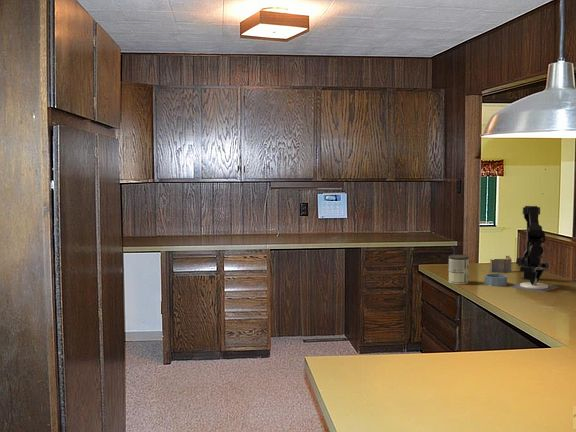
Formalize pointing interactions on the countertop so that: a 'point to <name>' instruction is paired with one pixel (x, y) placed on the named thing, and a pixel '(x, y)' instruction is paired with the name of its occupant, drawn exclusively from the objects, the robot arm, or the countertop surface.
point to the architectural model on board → (501, 265)
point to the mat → (533, 289)
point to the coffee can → (458, 269)
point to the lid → (534, 285)
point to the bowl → (495, 279)
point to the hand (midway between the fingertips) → (533, 283)
